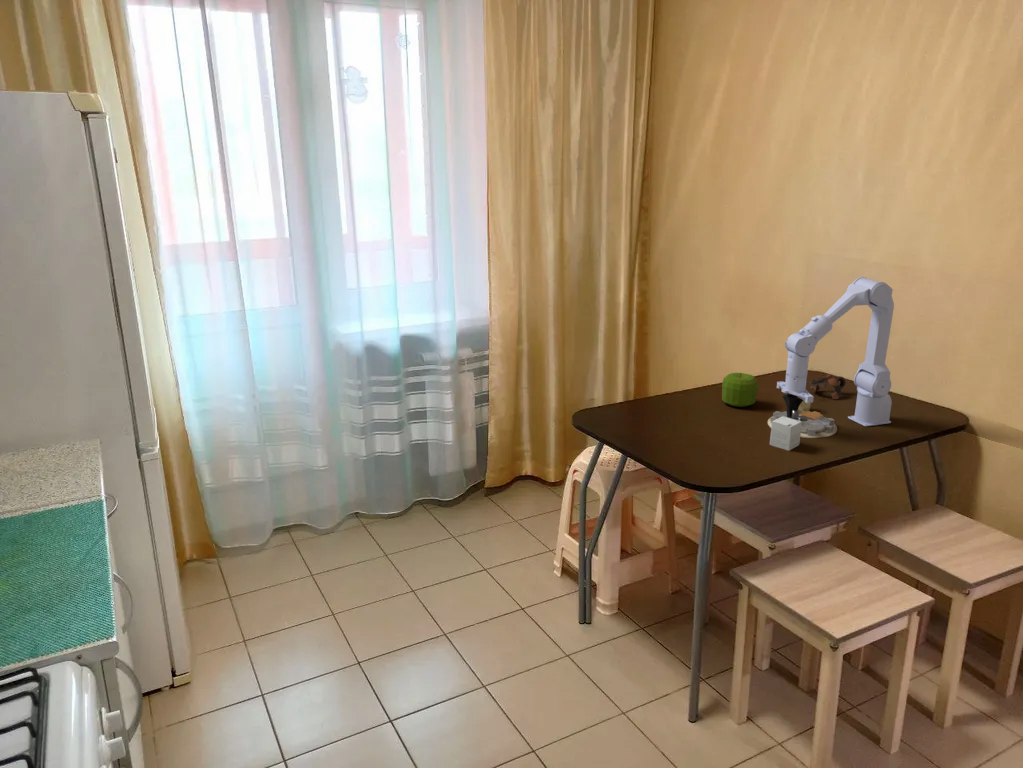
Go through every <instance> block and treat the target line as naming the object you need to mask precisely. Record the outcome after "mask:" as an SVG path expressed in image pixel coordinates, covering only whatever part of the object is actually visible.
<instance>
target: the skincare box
mask: <svg viewBox="0 0 1023 768" xmlns="http://www.w3.org/2000/svg"><path fill="white" fill-rule="evenodd" d="M801 425H802V422H801V421H798V420H794V419H791V418H787V417H784V416H782V417H780V418H778V419H776V420H774V421H772V427H771V428H770V437H769V446H771V447H774V448H778V449H782V450H785V451H791V450H794V449H795V448H796V447H798V446H800V444H801V443H800V442H801V437H800V434H801Z"/></svg>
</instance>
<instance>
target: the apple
mask: <svg viewBox="0 0 1023 768" xmlns="http://www.w3.org/2000/svg"><path fill="white" fill-rule="evenodd" d="M721 388H722V389H721V401H723V402H724V403H726V404H727V405H729V406H732V407H735V408H736V407H737V408H739V407H740V408H745V407H749V406H752V405H754V404H755V402H756V400H757V396H758V391H759V382H758V379H757V378H756V377H755V376H754V375H752V374H748V373H744V372H731V373H728V374H727V375H726V376H724V377H723V380H722V383H721Z"/></svg>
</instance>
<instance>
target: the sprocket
mask: <svg viewBox="0 0 1023 768" xmlns="http://www.w3.org/2000/svg"><path fill="white" fill-rule="evenodd" d="M772 413H773V414H772V416H773V417H775V418H771V424H772V421H774V420H776V419H778V418H780V417H782V416H784V417H787V410H785V411H778V410H776V411H773V412H772ZM791 419H794V420H798V421H801V422H802V425H801V432H802V433H807V434H808V435H815V433H818V432H823V431H825V432H829V433H830V432H832V431H833V426H831V425H834V424H835V419H833V418H832V417H826V416H824V415H823V414H821V412H819V411H815V410H814V411H799V410H797V409H793V410H792V416H791Z"/></svg>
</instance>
